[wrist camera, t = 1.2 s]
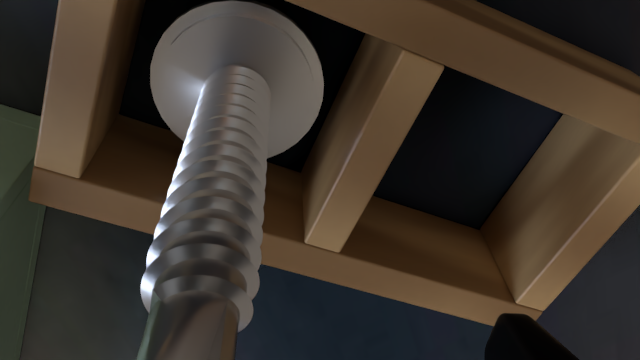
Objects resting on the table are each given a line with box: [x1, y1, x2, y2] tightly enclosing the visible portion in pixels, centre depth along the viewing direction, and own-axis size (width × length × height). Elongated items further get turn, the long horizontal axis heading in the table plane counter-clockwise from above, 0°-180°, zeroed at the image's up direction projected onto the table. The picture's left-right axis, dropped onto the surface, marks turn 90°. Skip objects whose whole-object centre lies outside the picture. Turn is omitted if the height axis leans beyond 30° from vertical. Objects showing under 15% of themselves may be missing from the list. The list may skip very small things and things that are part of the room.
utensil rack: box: [28, 0, 640, 326], centre depth 16 cm, size 9×16×4 cm, turn 67°
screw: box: [136, 0, 324, 360], centre depth 11 cm, size 13×5×5 cm
